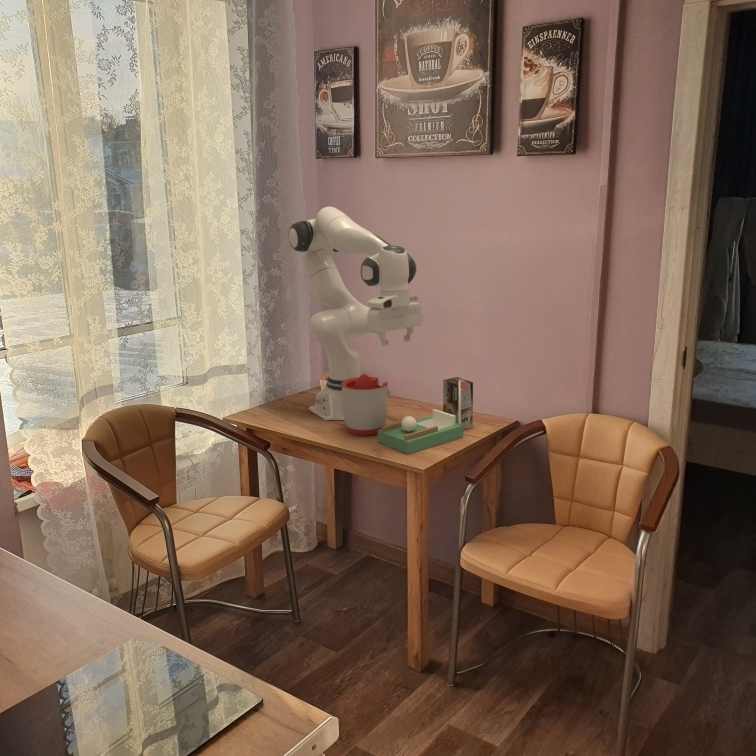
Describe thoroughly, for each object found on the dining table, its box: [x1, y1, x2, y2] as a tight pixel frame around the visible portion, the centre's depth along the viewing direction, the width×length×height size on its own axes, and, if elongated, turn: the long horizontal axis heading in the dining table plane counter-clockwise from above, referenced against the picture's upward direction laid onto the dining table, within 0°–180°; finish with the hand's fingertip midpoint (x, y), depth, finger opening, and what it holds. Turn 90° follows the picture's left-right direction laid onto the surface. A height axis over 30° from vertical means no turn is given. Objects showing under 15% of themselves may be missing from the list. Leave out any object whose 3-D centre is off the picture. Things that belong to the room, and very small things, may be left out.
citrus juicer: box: [341, 373, 391, 437], centre depth 261 cm, size 16×17×20 cm
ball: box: [400, 415, 417, 432], centre depth 249 cm, size 5×5×5 cm
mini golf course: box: [377, 381, 467, 455], centre depth 251 cm, size 17×24×19 cm
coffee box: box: [442, 377, 474, 431], centre depth 265 cm, size 9×6×16 cm
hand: (396, 343), depth 243 cm, fingers open, 8 cm apart
